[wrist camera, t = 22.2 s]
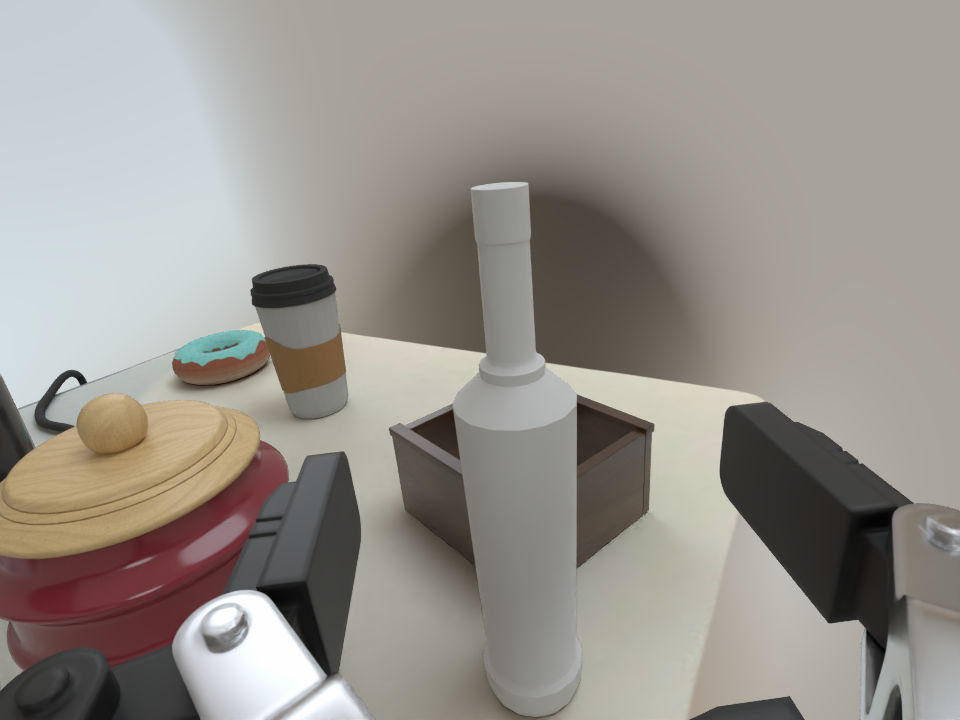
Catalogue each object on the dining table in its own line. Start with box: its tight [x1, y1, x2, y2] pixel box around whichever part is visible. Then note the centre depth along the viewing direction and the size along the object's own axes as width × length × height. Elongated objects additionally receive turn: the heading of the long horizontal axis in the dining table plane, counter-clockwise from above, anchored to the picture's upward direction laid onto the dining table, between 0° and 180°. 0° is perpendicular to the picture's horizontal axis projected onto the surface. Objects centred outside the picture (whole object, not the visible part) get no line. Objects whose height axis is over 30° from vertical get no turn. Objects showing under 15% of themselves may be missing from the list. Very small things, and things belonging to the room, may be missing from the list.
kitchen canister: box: [0, 394, 289, 671], centre depth 27 cm, size 13×13×18 cm
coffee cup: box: [251, 264, 348, 419], centre depth 58 cm, size 8×8×15 cm
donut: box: [172, 330, 270, 385], centre depth 73 cm, size 12×12×4 cm
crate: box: [389, 395, 654, 568], centre depth 40 cm, size 14×13×7 cm
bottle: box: [452, 182, 582, 717], centre depth 25 cm, size 5×5×25 cm
